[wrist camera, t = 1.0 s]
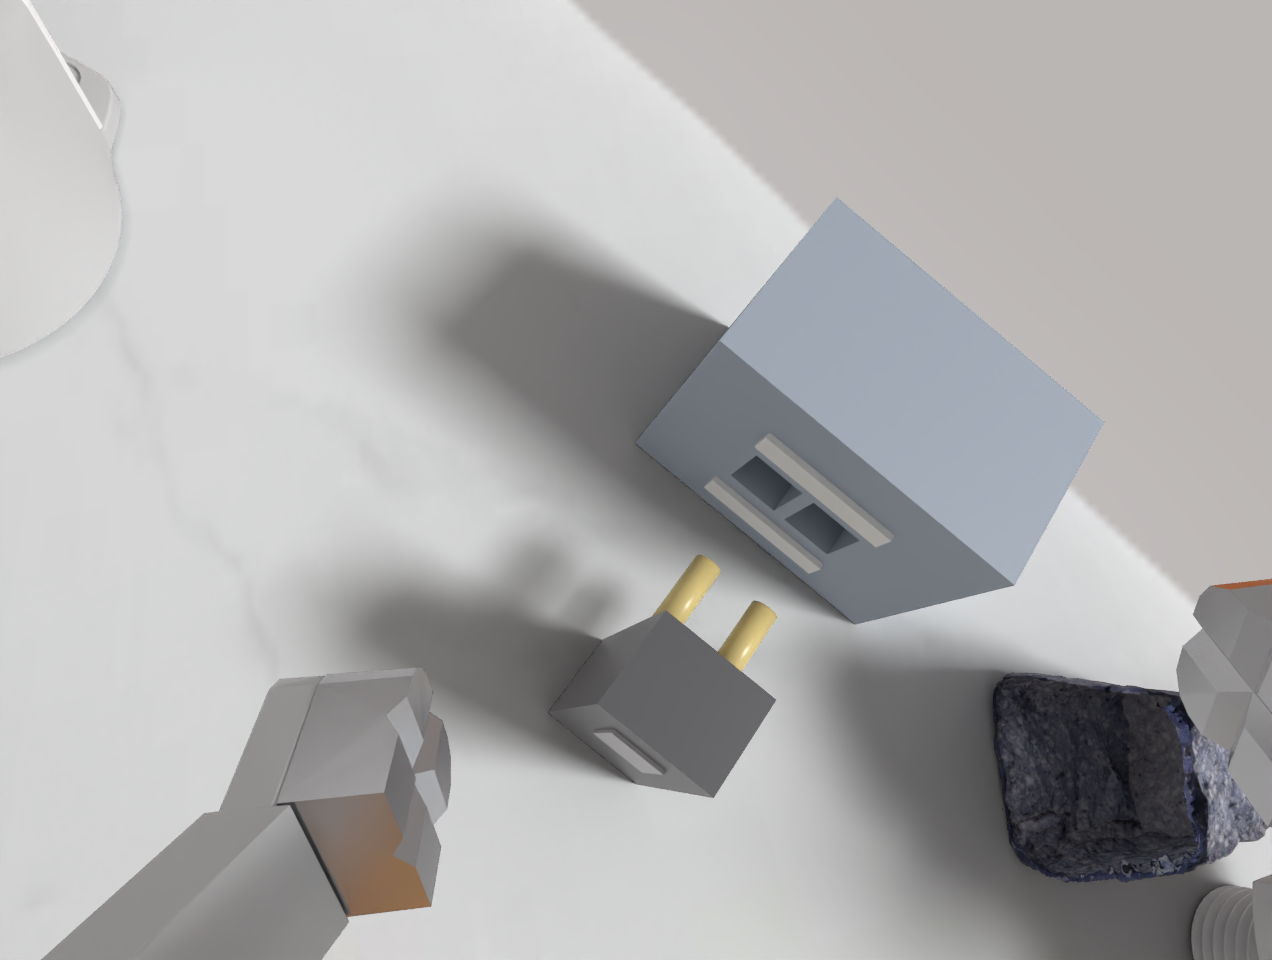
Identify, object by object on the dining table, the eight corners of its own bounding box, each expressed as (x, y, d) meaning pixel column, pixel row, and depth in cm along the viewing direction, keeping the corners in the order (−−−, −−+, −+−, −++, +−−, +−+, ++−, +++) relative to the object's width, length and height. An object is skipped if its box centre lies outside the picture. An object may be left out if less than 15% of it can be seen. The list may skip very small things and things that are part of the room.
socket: (631, 447, 43) (715, 346, 32) (729, 327, 47) (836, 197, 35) (852, 629, 44) (1011, 591, 33) (934, 497, 47) (1104, 422, 36)
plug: (545, 715, 39) (594, 707, 30) (652, 572, 42) (728, 524, 33) (634, 787, 39) (711, 801, 30) (735, 639, 42) (833, 610, 33)
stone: (949, 845, 44) (963, 642, 44) (1085, 821, 48) (1100, 637, 48) (1190, 979, 33) (1211, 711, 33) (1338, 932, 37) (1358, 696, 37)
